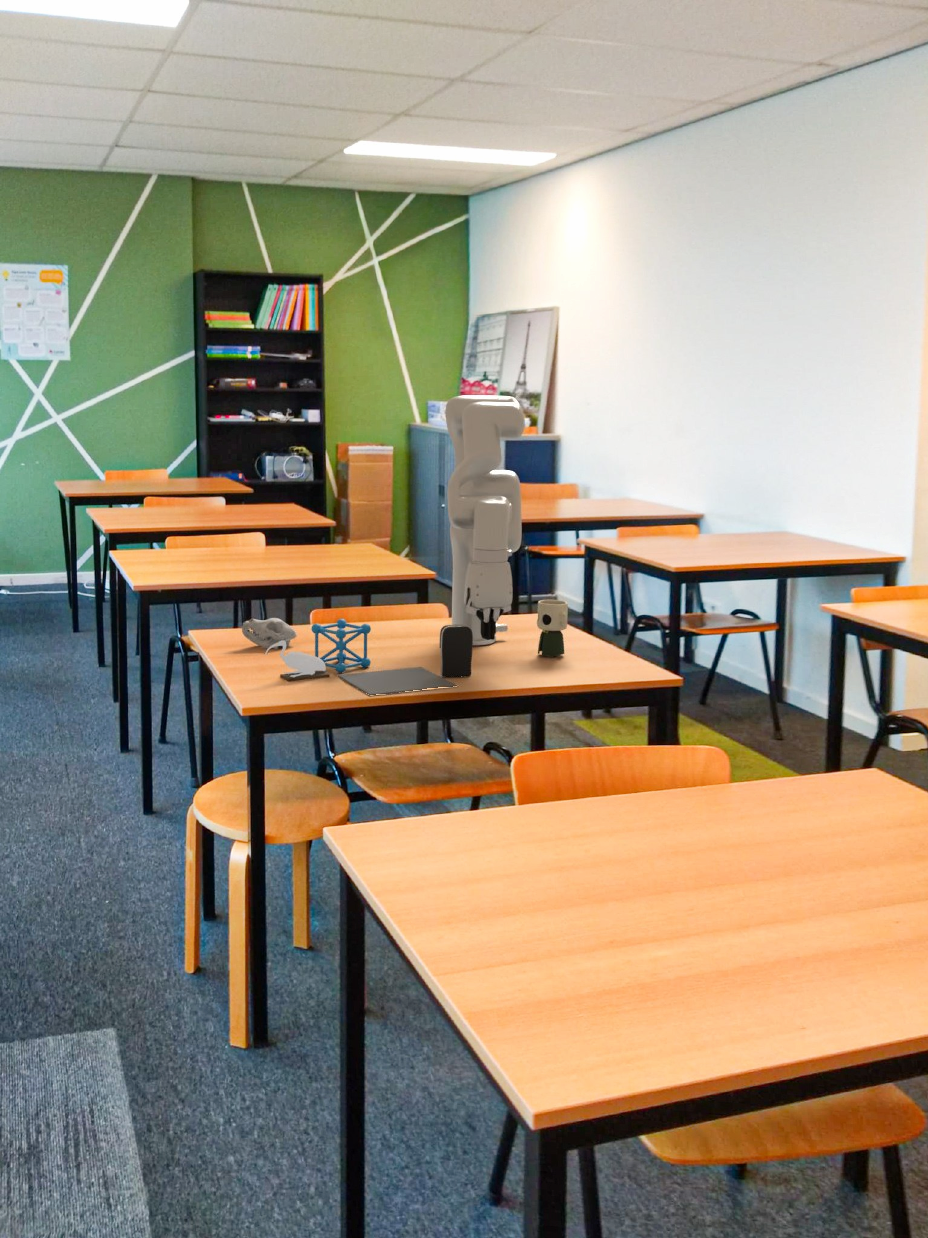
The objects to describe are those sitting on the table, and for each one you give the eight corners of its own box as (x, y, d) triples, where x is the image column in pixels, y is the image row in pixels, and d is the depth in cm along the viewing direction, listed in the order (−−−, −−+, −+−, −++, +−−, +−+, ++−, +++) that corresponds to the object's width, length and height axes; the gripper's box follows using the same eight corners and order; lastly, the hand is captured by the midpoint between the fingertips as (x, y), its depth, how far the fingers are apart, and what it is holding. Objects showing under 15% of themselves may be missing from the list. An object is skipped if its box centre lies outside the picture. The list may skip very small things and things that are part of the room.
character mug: (525, 652, 299) (527, 599, 296) (549, 650, 302) (551, 597, 300) (552, 662, 290) (554, 607, 287) (576, 659, 293) (579, 604, 291)
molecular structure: (309, 667, 280) (309, 623, 278) (341, 660, 287) (341, 617, 285) (340, 674, 274) (340, 630, 272) (372, 667, 281) (373, 623, 279)
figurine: (269, 684, 264) (268, 644, 263) (261, 680, 268) (261, 640, 267) (330, 677, 271) (330, 638, 270) (322, 673, 275) (321, 634, 273)
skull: (302, 637, 298) (265, 606, 292) (277, 665, 297) (240, 634, 292) (295, 629, 305) (259, 598, 300) (270, 656, 304) (234, 625, 299)
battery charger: (467, 673, 277) (469, 622, 275) (472, 677, 274) (473, 626, 272) (437, 674, 276) (438, 623, 273) (441, 678, 272) (442, 627, 270)
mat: (420, 668, 281) (420, 666, 281) (457, 687, 265) (457, 685, 265) (337, 676, 272) (337, 674, 272) (370, 696, 256) (370, 694, 256)
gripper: (511, 552, 280) (509, 633, 283) (451, 555, 273) (450, 638, 277) (528, 557, 273) (525, 639, 277) (467, 560, 267) (465, 644, 270)
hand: (488, 638), depth 277 cm, fingers closed
